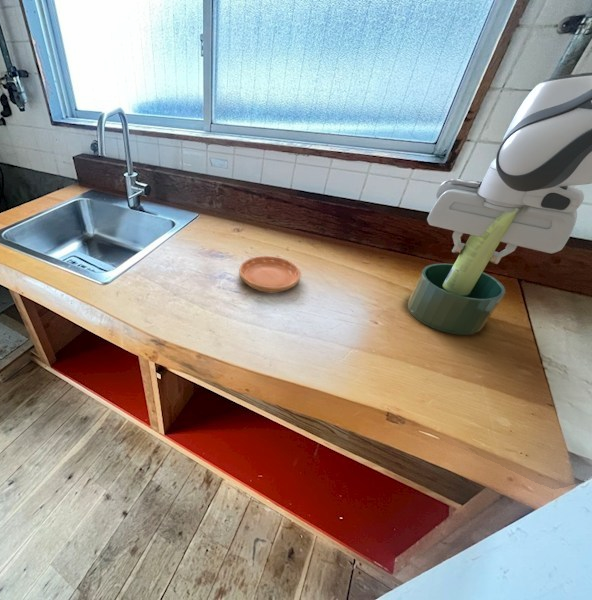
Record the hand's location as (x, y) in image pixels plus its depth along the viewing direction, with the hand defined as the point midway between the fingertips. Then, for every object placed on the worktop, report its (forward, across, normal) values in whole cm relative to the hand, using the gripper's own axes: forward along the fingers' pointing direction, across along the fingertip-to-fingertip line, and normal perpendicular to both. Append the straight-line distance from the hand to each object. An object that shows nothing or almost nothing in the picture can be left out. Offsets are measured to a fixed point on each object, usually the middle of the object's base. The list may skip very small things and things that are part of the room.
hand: (474, 257), depth 64 cm
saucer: (+15, -37, -15) cm, 43 cm away
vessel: (+15, 0, 0) cm, 15 cm away
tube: (+8, 0, 0) cm, 8 cm away
